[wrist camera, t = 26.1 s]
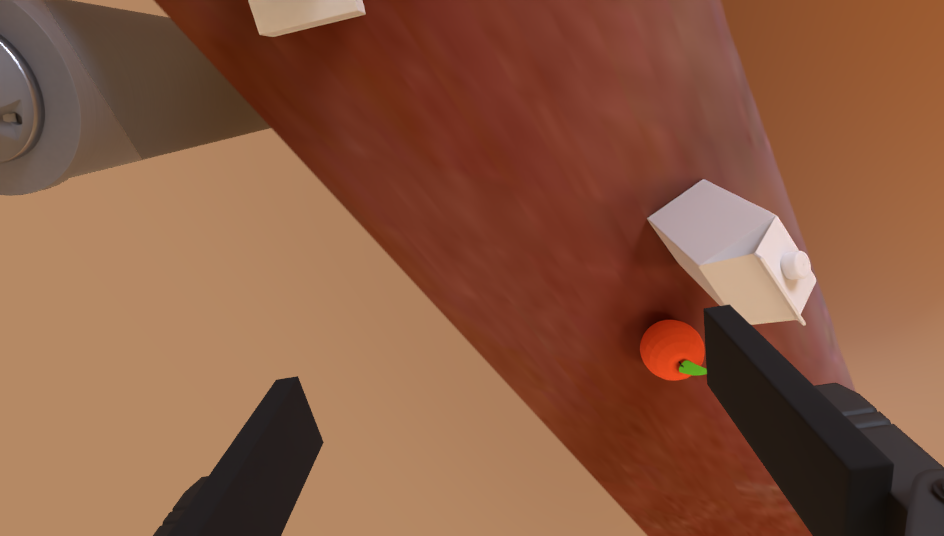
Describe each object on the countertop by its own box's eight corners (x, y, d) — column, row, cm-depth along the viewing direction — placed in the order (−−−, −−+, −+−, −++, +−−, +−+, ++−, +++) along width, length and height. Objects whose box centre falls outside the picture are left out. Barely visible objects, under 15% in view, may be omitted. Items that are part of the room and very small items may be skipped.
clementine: (709, 323, 60) (737, 354, 53) (681, 369, 62) (704, 404, 56) (649, 301, 59) (669, 330, 53) (623, 349, 62) (639, 382, 55)
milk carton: (679, 264, 57) (763, 350, 40) (645, 217, 56) (718, 285, 38) (735, 227, 56) (849, 299, 38) (702, 177, 54) (806, 228, 36)
